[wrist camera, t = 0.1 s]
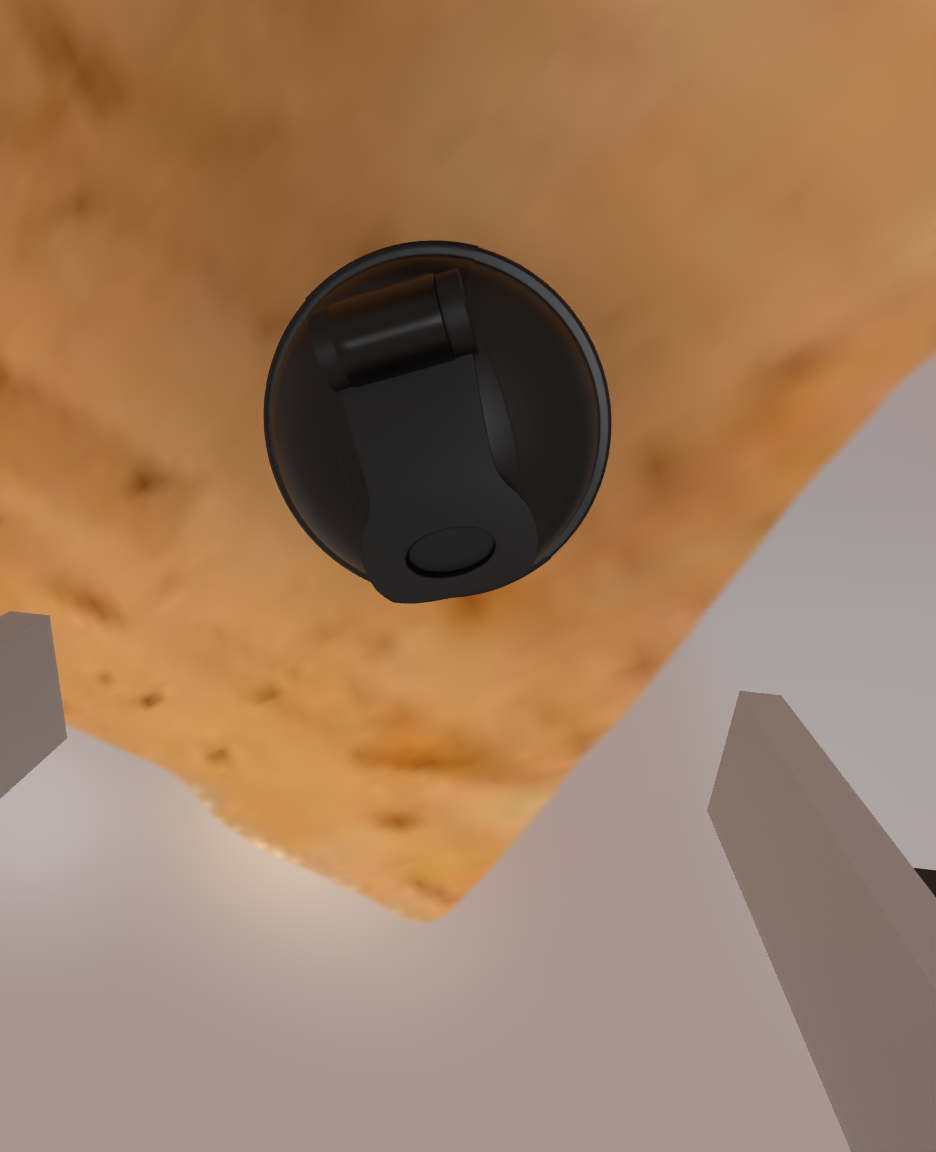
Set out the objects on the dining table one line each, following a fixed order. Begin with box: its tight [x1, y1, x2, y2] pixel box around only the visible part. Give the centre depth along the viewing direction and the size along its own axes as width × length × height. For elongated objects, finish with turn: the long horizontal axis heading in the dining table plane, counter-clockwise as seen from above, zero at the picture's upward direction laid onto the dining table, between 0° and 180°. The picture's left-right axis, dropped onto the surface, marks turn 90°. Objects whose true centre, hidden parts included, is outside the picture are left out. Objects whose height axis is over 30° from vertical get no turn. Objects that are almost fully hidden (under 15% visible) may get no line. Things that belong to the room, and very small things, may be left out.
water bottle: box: [264, 240, 611, 603], centre depth 27 cm, size 10×10×23 cm
